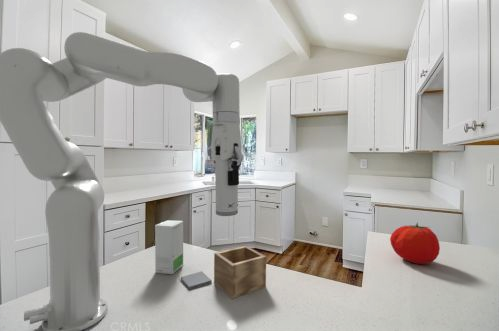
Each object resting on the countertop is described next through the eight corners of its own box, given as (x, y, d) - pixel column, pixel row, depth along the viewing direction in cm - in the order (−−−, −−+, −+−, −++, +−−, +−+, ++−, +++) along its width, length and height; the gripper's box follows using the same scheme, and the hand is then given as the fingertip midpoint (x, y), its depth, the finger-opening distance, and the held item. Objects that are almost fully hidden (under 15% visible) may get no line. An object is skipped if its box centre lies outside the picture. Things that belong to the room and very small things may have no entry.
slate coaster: (189, 289, 72) (189, 286, 72) (180, 279, 78) (180, 277, 78) (211, 282, 76) (211, 280, 76) (201, 273, 82) (201, 271, 82)
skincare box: (172, 275, 81) (172, 226, 80) (153, 273, 82) (153, 225, 81) (184, 264, 89) (184, 220, 88) (166, 262, 90) (167, 219, 90)
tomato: (434, 259, 97) (436, 223, 96) (443, 273, 84) (445, 233, 84) (388, 251, 104) (389, 218, 103) (390, 264, 91) (391, 226, 91)
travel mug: (236, 216, 69) (236, 142, 68) (212, 215, 70) (212, 142, 69) (240, 211, 75) (240, 143, 74) (219, 210, 76) (218, 143, 75)
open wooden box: (232, 298, 68) (232, 265, 67) (214, 282, 76) (214, 253, 76) (265, 286, 74) (266, 256, 74) (245, 272, 83) (246, 245, 83)
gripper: (201, 122, 76) (202, 182, 77) (230, 115, 62) (230, 188, 63) (223, 124, 80) (224, 180, 81) (255, 117, 66) (255, 186, 67)
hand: (227, 183), depth 72 cm, fingers closed on travel mug, 6 cm apart
